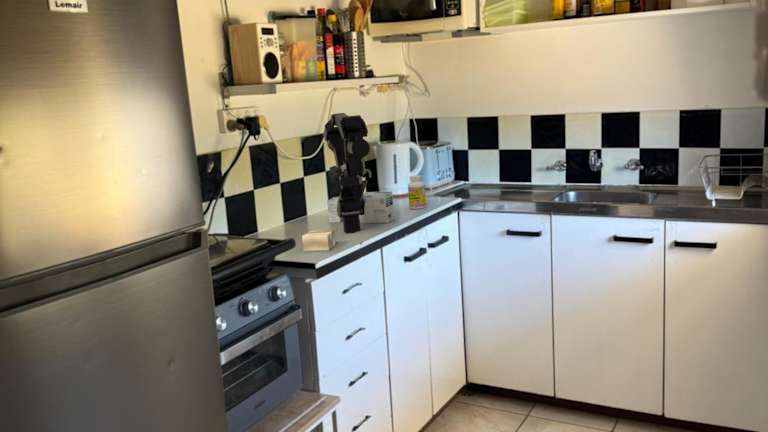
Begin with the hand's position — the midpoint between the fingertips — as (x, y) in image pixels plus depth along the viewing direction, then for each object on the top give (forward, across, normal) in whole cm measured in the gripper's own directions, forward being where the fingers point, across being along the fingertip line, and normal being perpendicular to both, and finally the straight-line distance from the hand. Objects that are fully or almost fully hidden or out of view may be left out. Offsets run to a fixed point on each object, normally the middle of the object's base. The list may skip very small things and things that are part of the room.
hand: (358, 203), depth 231 cm
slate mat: (+12, +12, -10) cm, 20 cm away
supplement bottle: (+12, -57, +10) cm, 59 cm away
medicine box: (+12, -37, -18) cm, 43 cm away
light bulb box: (+12, -32, -1) cm, 34 cm away
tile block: (+9, +10, -10) cm, 17 cm away
